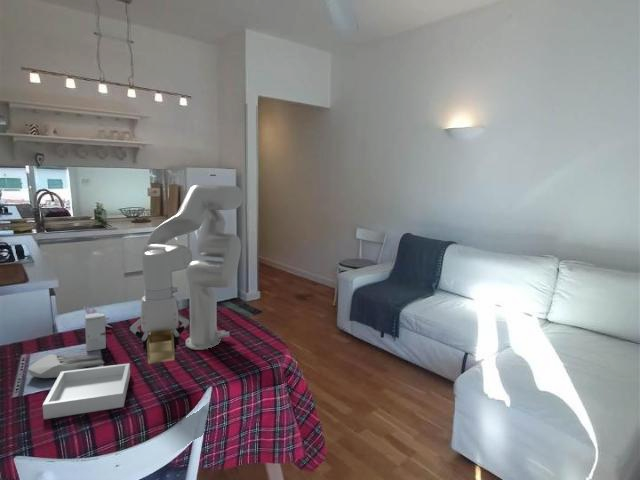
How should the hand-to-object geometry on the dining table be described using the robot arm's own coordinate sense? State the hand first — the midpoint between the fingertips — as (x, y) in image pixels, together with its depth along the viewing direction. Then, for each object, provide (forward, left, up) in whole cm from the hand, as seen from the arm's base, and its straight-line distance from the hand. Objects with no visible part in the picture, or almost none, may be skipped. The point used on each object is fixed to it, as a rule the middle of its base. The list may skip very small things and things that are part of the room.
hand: (161, 348), depth 113 cm
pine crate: (0, 0, -1) cm, 1 cm away
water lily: (+25, -49, -11) cm, 56 cm away
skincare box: (+22, -30, -11) cm, 39 cm away
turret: (+28, -16, -11) cm, 34 cm away
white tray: (+18, +2, -11) cm, 21 cm away
